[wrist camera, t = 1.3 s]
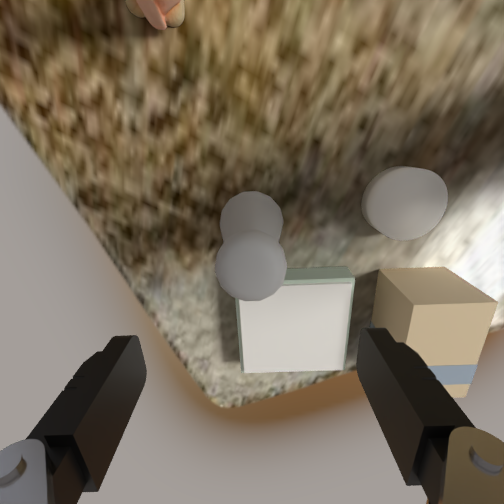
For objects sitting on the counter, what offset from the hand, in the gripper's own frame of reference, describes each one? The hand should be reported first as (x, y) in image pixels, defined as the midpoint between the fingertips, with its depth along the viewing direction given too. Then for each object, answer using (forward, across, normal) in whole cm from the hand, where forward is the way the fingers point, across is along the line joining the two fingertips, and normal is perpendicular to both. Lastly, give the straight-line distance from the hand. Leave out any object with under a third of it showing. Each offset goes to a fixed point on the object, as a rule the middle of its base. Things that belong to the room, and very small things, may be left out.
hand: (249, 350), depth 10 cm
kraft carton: (+19, -17, +12) cm, 28 cm away
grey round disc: (+19, -14, -1) cm, 24 cm away
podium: (+19, -4, +12) cm, 23 cm away
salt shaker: (+19, 0, 0) cm, 19 cm away
